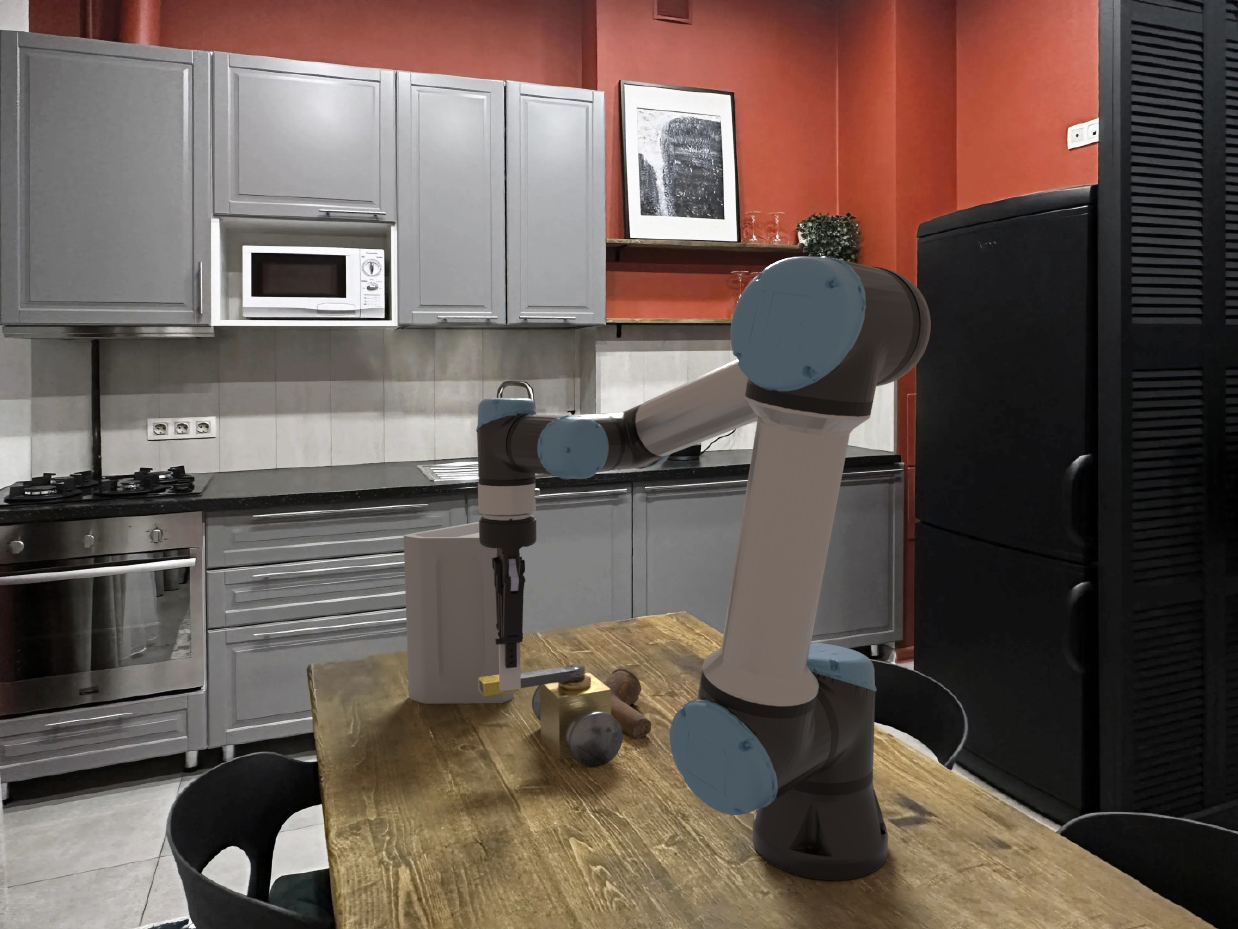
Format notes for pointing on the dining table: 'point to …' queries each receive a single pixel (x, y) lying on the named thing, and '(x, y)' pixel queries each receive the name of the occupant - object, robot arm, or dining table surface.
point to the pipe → (627, 702)
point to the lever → (534, 678)
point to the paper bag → (450, 616)
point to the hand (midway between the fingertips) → (509, 687)
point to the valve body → (578, 720)
